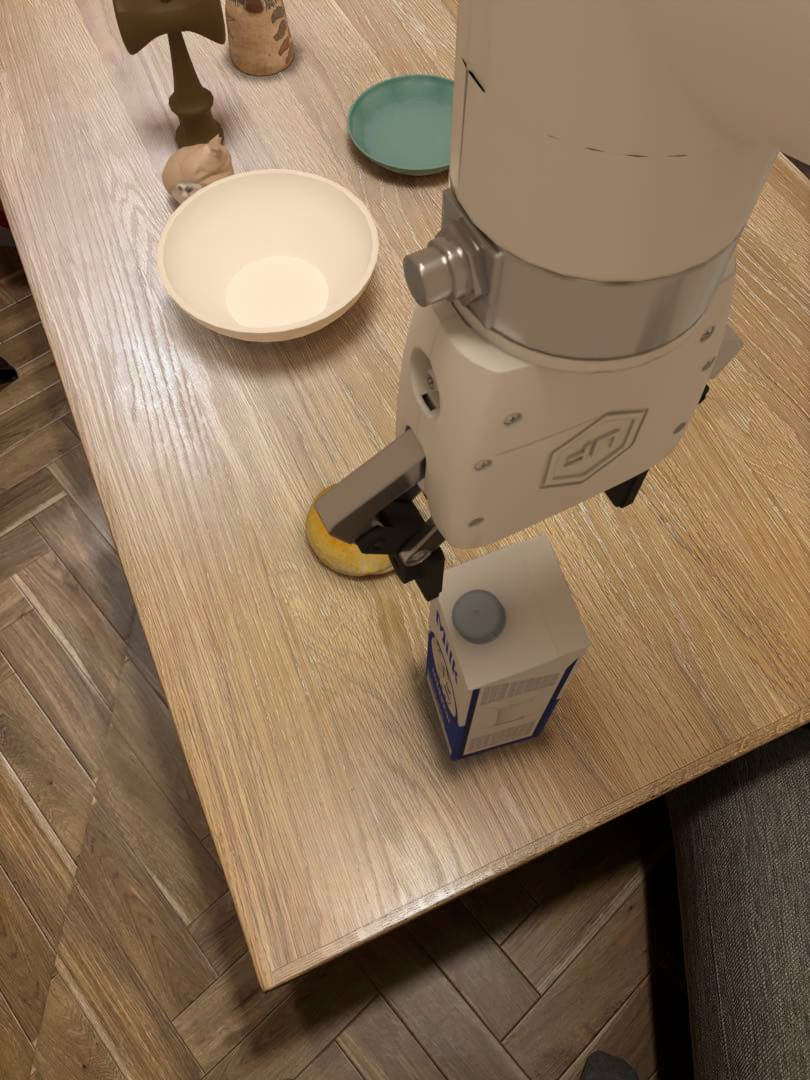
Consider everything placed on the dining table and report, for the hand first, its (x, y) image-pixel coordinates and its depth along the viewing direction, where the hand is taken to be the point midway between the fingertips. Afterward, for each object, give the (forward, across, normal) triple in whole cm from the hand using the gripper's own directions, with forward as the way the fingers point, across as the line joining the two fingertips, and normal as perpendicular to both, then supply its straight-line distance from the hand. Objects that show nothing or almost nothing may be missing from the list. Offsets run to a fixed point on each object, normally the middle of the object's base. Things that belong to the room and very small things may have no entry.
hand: (513, 525), depth 38 cm
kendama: (+30, +5, +67) cm, 73 cm away
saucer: (+29, +25, +56) cm, 68 cm away
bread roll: (+29, 0, +17) cm, 34 cm away
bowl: (+29, +3, +43) cm, 52 cm away
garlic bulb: (+30, +2, +58) cm, 65 cm away
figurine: (+30, +16, +77) cm, 84 cm away
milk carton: (+29, +1, 0) cm, 29 cm away
